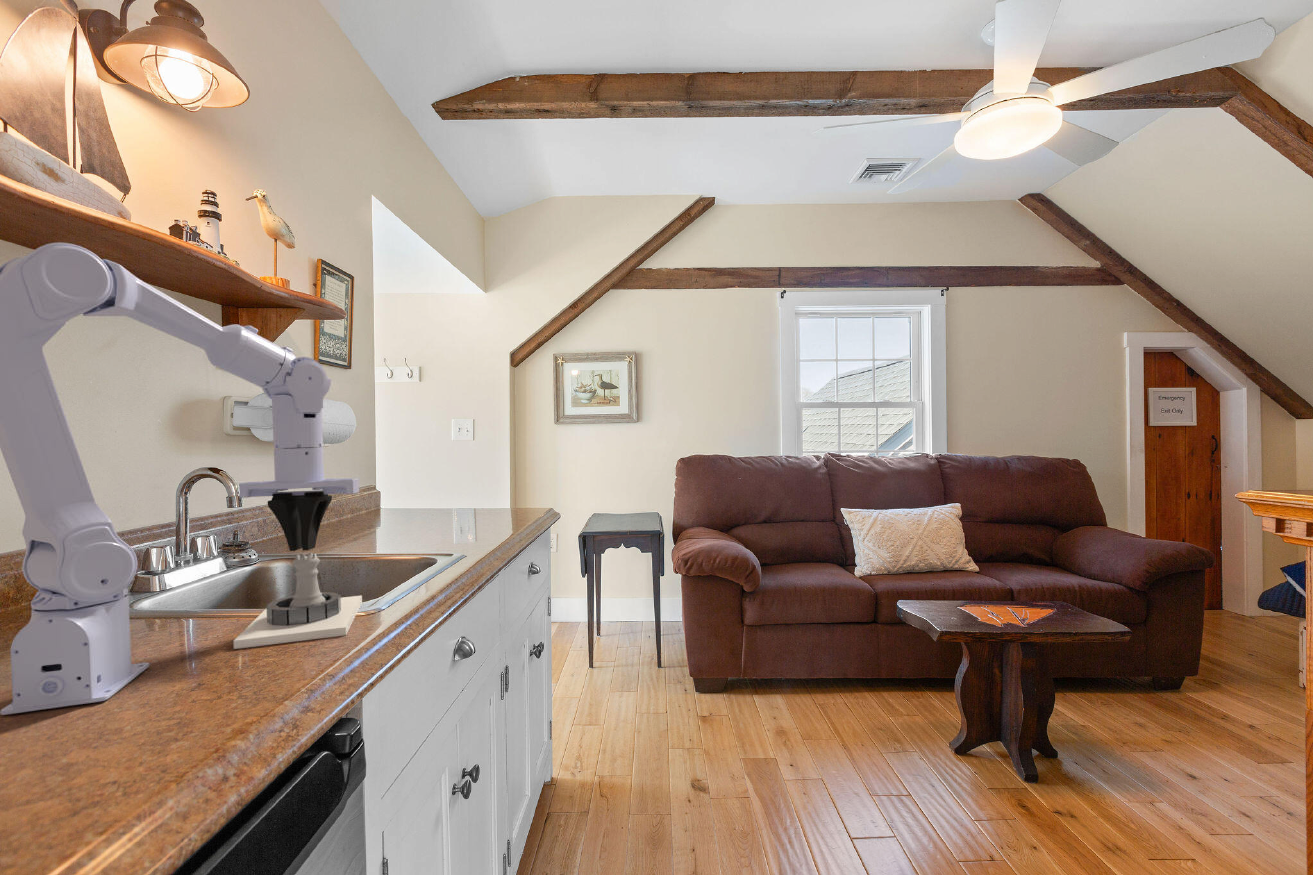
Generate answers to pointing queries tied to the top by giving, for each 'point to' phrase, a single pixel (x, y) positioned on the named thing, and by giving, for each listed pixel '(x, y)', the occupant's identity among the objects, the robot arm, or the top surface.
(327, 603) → the segmented grey ring
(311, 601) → the rook chess piece
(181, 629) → the top surface
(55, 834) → the top surface
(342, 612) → the mount plate
